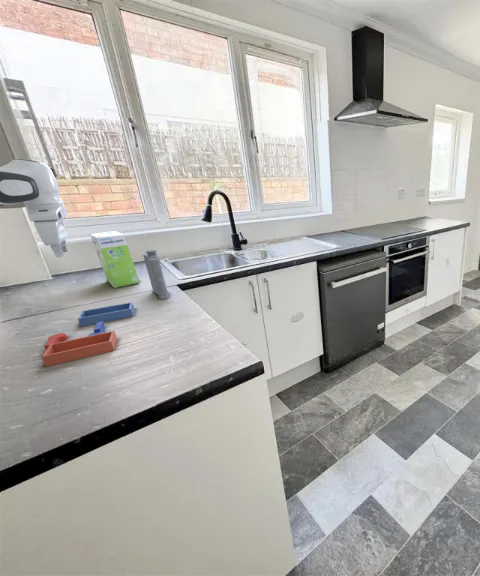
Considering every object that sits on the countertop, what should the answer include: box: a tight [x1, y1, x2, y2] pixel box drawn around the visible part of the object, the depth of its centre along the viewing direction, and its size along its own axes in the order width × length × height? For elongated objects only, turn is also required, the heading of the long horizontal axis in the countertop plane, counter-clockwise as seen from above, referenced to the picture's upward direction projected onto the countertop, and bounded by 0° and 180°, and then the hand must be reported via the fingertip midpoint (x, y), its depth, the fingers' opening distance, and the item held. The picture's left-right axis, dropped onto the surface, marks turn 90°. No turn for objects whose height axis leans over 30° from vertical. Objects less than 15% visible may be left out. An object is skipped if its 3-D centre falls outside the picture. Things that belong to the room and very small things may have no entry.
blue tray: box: [77, 301, 135, 328], centre depth 111 cm, size 14×8×4 cm, turn 125°
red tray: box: [41, 330, 118, 367], centre depth 89 cm, size 14×8×4 cm, turn 125°
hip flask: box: [142, 249, 170, 300], centre depth 131 cm, size 16×4×20 cm, turn 45°
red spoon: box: [44, 332, 68, 351], centre depth 93 cm, size 11×4×3 cm, turn 35°
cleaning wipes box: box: [90, 230, 140, 289], centre depth 148 cm, size 18×10×24 cm, turn 49°
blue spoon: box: [87, 321, 106, 336], centre depth 99 cm, size 11×4×3 cm, turn 35°
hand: (62, 254), depth 106 cm, fingers open, 8 cm apart
